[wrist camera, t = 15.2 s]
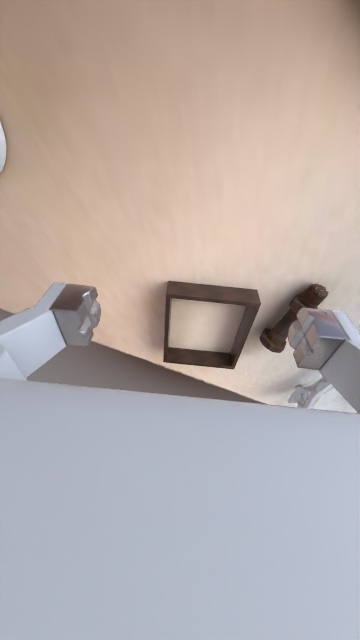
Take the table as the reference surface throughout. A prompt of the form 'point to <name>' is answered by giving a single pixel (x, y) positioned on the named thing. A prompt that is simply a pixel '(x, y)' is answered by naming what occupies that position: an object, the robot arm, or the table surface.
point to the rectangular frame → (218, 296)
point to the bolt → (292, 318)
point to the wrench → (310, 393)
